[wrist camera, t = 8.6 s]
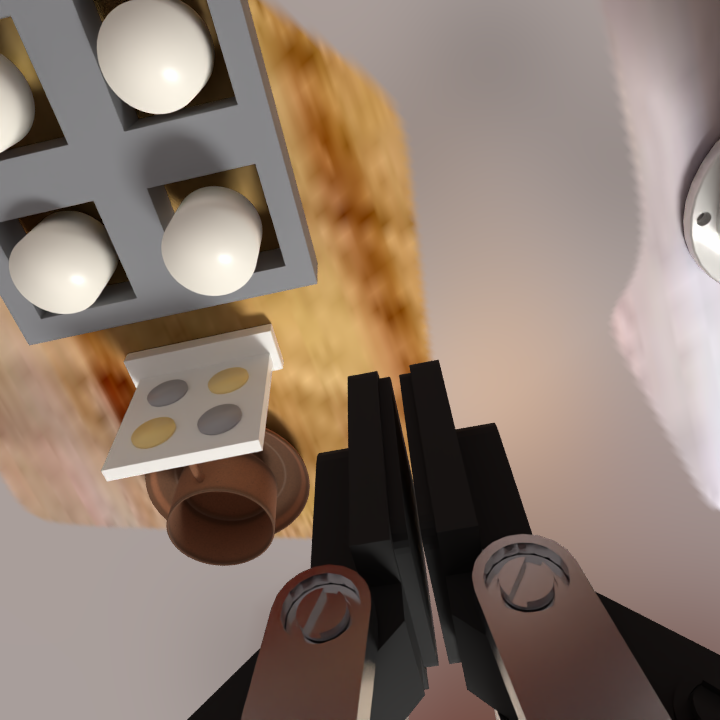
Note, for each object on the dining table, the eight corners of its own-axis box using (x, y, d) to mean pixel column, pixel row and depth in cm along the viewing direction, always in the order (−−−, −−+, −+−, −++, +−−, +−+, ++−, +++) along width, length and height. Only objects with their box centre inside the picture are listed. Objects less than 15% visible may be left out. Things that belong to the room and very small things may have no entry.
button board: (226, -77, 31) (218, -80, 28) (317, 263, 40) (317, 283, 38) (-122, 12, 32) (-160, 17, 29) (46, 321, 41) (29, 345, 39)
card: (271, 323, 42) (258, 414, 34) (283, 360, 44) (274, 457, 35) (127, 353, 43) (79, 451, 34) (144, 389, 45) (103, 490, 36)
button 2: (247, 177, 34) (240, 198, 31) (272, 258, 37) (268, 285, 34) (161, 196, 34) (146, 219, 31) (192, 276, 37) (181, 303, 34)
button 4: (98, 202, 36) (78, 224, 33) (131, 277, 39) (115, 304, 36) (18, 220, 37) (-9, 243, 34) (56, 294, 39) (35, 321, 36)
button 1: (196, -16, 31) (182, -13, 28) (227, 88, 33) (218, 101, 30) (101, 8, 31) (78, 13, 28) (139, 109, 34) (122, 124, 31)
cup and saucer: (117, 460, 48) (92, 521, 43) (237, 377, 45) (226, 433, 39) (227, 545, 53) (216, 608, 48) (341, 477, 50) (343, 538, 45)
